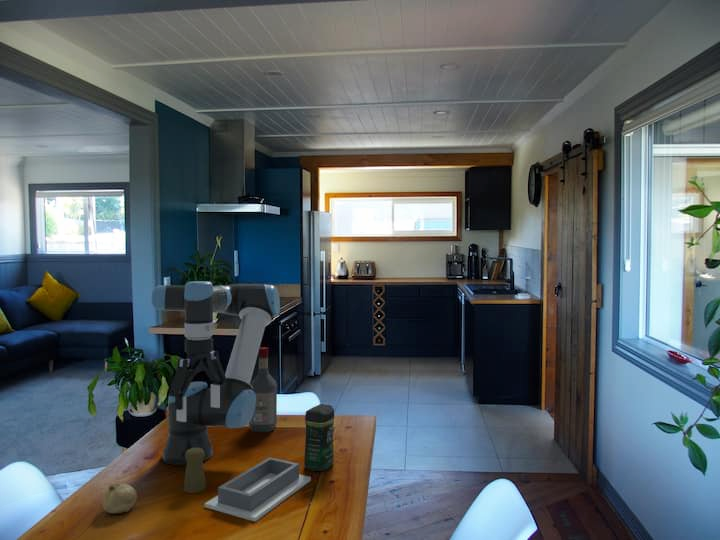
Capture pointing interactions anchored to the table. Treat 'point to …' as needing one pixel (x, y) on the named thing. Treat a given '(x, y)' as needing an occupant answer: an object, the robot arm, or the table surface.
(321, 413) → the coffee jar
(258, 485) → the slot well
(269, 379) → the liquor
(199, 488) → the cork
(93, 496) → the table surface
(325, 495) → the table surface
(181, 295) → the robot arm
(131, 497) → the onion
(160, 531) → the table surface
